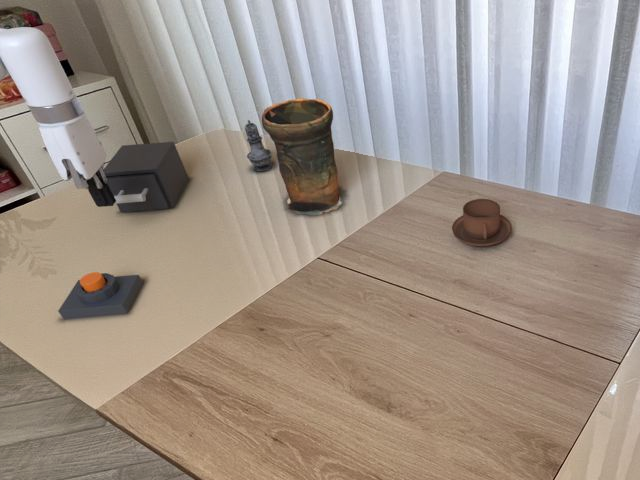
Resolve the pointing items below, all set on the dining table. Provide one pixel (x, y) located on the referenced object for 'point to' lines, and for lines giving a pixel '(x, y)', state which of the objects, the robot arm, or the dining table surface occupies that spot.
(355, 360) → the dining table surface
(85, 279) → the button
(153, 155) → the small drawer cabinet
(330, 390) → the dining table surface
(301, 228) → the dining table surface
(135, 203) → the dark grey drawer
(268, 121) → the vessel
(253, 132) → the grey chess piece
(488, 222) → the cup and saucer
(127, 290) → the control block
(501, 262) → the dining table surface
